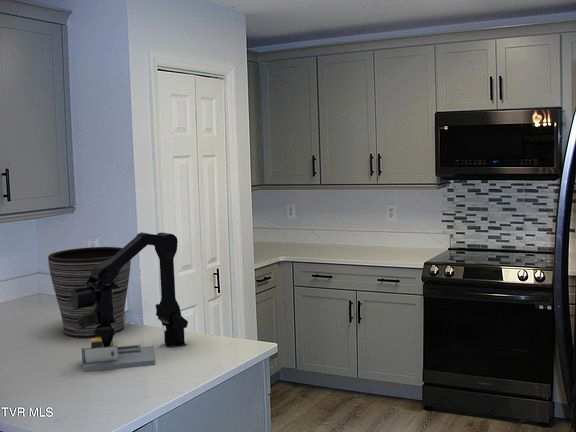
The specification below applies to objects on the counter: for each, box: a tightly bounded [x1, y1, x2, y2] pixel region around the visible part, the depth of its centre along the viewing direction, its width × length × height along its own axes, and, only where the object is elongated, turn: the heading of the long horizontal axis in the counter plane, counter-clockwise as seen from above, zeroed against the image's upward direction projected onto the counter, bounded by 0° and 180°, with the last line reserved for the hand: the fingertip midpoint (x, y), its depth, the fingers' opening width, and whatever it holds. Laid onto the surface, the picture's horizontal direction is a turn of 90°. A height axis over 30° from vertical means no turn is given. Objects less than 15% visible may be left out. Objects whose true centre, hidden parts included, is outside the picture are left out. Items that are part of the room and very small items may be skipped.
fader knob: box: [90, 338, 103, 348], centre depth 223 cm, size 4×3×4 cm
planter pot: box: [47, 246, 132, 339], centre depth 256 cm, size 30×30×30 cm
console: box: [81, 344, 156, 372], centre depth 219 cm, size 22×16×6 cm
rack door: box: [85, 345, 118, 363], centre depth 213 cm, size 10×2×4 cm, turn 103°
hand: (106, 350), depth 219 cm, fingers closed
